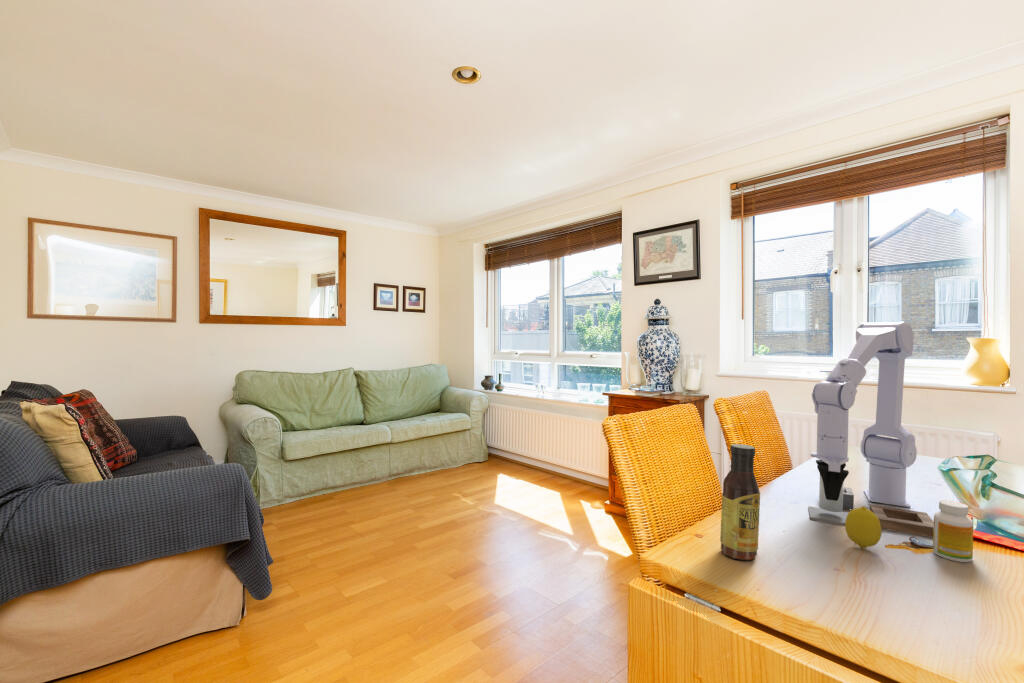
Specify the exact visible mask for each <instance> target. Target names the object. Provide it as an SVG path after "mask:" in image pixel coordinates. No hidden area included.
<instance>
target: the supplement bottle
mask: <svg viewBox="0 0 1024 683" xmlns="http://www.w3.org/2000/svg"><path fill="white" fill-rule="evenodd" d="M938 509H939V511H936V512H934V514H933V522H934V527H933V537H932V551H933V553H934V554H935V555H937V556H939V557H940V558H944V559H947V560H949V561H952V562H953V561H954V562H958V563H970V562H972V561H973V557H974V556H973V552H974V551H973V549H974V546H973V545H974V521H973V520H972V519H971V518H970V517H969V516H968V515H969V506H968V505H966V503H961V502H958V501H954V500H939V501H938Z"/></svg>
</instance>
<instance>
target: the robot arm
mask: <svg viewBox="0 0 1024 683" xmlns="http://www.w3.org/2000/svg"><path fill="white" fill-rule="evenodd" d="M914 333H915V332H914V330H913V328H912V326H911V325H910V324H909V323H908V322H907V321H901V322H861V323H860V324H859V325H858V326H857V328H856V330H855V340H856V342H855V344H854V347H852V350H851V351H850V353H849V355H848V358H844V359H841V360H839V361H838V363H837V364H836V365H835V366H834V368H833V369H832V371H831V372H830V373H829V375H828V376H827V377H826V379H825V380H822V381H820V382H817V383H816V384H815V385H814V387H813V389H812V393H811V398H812V402H813V405H814V411H815V413H816V414H817V415H816V416H817V419H816V420H817V423H816V429H817V430H816V434H817V435H816V452H812V451H811V452H810V457H812V458H816V460H815V463H816V464H817V470H818V472H819V475H820V474H821V477H822V480H823V485H824V492H825V496H826V499H827V500H834V501H838V498H839V495H840V491H841V487H842V484H843V485H844V482H845V480H846V479H847V477H848V476H849V472H850V471H849V470H847V469H845V467H846V466H847V463H849V456H848V455H849V454H848V452H849V451H848V450H849V447H848V446H849V410H850V409H851V408H852V407H853V406H854V404H855V400H856V395H857V392H858V389H857V388H858V387H859V385H860V383H861V382H862V381H863V380H864V378H865V376H866V374H867V370H866V367H865V366H866V365H868V363H869V362H870V361H871V360H872V359H873V358H874V357H875V358H876V359H877V360H878V376H877V381H878V382H877V394H876V412H875V423H874V424H872V425H870V426H868V427H866V428H864V430H863V436H862V438H861V441H860V453H861V455H862V456H863V458H864V459H865V461H866V462H867V463H868V466H869V467H868V489H865V488H864V489H863V492H864V494H865V496H866V498H867V500H868V501H869V502H871V503H872V502H873V503H877V504H878V503H879V504H885V505H892V506H898V507H899V506H900V507H906V508H911V505H912V504H910V502H909V501H908V500H907V499H906V498H907V497H906V495H907V468H909V467H911V466H913V464H914V463H915V462H916V460H917V454H918V453H917V452H918V451H917V446H916V438H915V435H914V434H912V433H911V432H910V431H909V430H908V429H906V428H905V427H904V426H903V425H902V414H903V397H904V394H903V393H904V379H905V378H904V377H905V364H906V363H905V362H906V359H907V358H909V357H912V356H913V350H914V339H915V338H914V337H915V336H914V335H915V334H914Z"/></svg>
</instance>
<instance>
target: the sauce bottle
mask: <svg viewBox="0 0 1024 683" xmlns="http://www.w3.org/2000/svg"><path fill="white" fill-rule="evenodd" d="M730 454H731V459H730V462H731V464H730V470H729V472H728V473H727V474H726V476H725V477H724V479H723V483H722V484H723V485H722V486H723V487H722V495H721V516H720V518H721V519H720V539H719V540H720V550H721V552H722V553H723V554H724V555H725V556H726V557H729V558H730V559H734V560H741V561H753V560H754V559H756V557H757V555H758V549H759V535H760V534H759V530H760V529H759V528H760V526H759V525H760V507H761V506H760V505H761V504H760V503H761V492H760V489H759V485H758V482H757V478H756V475H755V473H754V471H755V468H754V458H755V455H756V448H755V447H754V446H753V445H749V444H739V443H733V444H731V445H730Z"/></svg>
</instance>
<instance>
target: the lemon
mask: <svg viewBox="0 0 1024 683" xmlns="http://www.w3.org/2000/svg"><path fill="white" fill-rule="evenodd" d="M844 527H845V533H846V535H847V536H848V538H849V540H850V541H852V542H853V543H854V544H856V545H857V546H858V547H859V548H860V549H862V550H866V549H867V548H869V547H873V546H875V545H877V544H878V543H879V541H880V540H881V537H882V529H881V525H880V521H879V519H878V517H877V516H876V515H875V514H874V513H873V512H872V511H870V509H868V508H867V507H866V506H860V507H857V508H854V509H853V510H849V511H848V515H847V518H846V521H845V525H844Z"/></svg>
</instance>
